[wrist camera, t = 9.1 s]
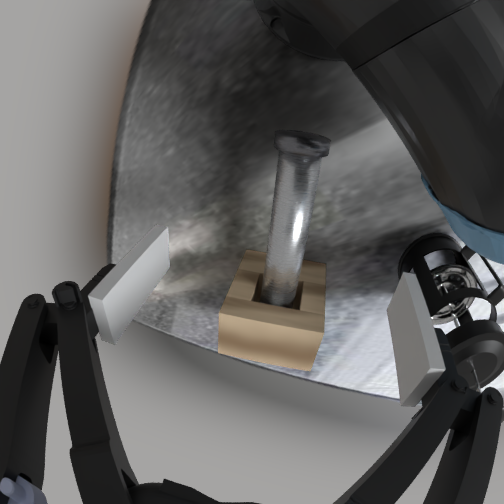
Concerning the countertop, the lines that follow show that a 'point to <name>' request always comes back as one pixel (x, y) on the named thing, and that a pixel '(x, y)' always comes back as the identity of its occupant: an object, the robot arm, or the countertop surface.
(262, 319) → the housing
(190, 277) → the countertop surface
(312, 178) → the shaft
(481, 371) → the french press
